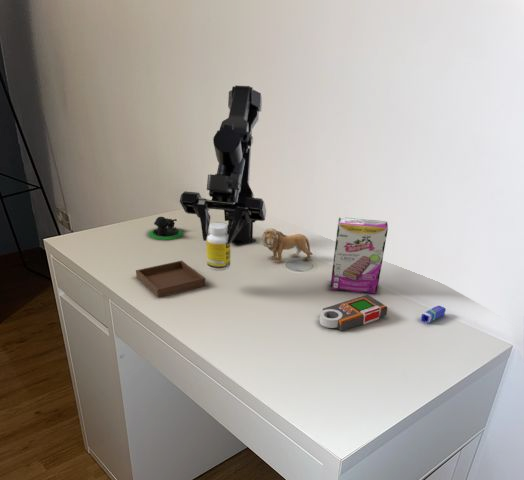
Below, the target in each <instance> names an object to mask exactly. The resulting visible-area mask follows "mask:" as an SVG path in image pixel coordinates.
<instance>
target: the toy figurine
mask: <svg viewBox="0 0 524 480" xmlns="http://www.w3.org/2000/svg"><path fill="white" fill-rule="evenodd" d="M176 222H178V220H177V219H176V218H174V219H172V218H168V217H167V218H166V217H165V216H158V217H156V219H155V221H154V222H153V225H154V226H156V227H157V228H154V229H152V230H150V231H149V232H148V236H149V237H150V238H151V239H154V240H159V241H170V240H176V239H180V238H181V237H182V236H184V232H183V231H182V230H181V229H179V228H177V227H176V226H175V224H176Z"/></svg>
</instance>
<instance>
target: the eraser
mask: <svg viewBox="0 0 524 480" xmlns="http://www.w3.org/2000/svg"><path fill="white" fill-rule="evenodd" d="M445 314H446V307H444V306H442V305H437V306H433V307H432V308H430V309H428V310H426V311H424V312H422V313H421V316H420V321H422V322H424V323H426V324H430V323H432V322H434V321H435V320H437V319H439V318H442V317H444V315H445Z"/></svg>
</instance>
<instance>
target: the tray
mask: <svg viewBox="0 0 524 480" xmlns="http://www.w3.org/2000/svg"><path fill="white" fill-rule="evenodd" d="M135 276H136V279H137V280H138V281H139V282H140V283H141V284H143V285H144V286H145V288H147V289H148V290H149V291H150V292H151V293H152V294H153V295H155V297H157V298H162V297H166V296H169V295H170V296H171V295H174V294H177V293H182V292H185V291H190V290H194V289H198V288H199V289H200V288H202V287H206V278H205V277H204V276H203V275H202V274H201V273H199V272H198V271H196V270H195V269H194V268H192V267H191V266H190V265H188V264H187V263H186V262H184V261H183V260H178V261H172V262H168V263H163V264H159V265H154V266H149V267H145V268H140V269H136V270H135Z"/></svg>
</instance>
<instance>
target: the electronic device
mask: <svg viewBox="0 0 524 480" xmlns="http://www.w3.org/2000/svg"><path fill="white" fill-rule="evenodd" d="M387 313H388V306H387V305H385V304H384V303H383V302H381V301H379V300H377V299H376V298H375V297H373V296H371V295H370V294H365V295H361V296H358V297H354V298H352V299H349V300H346V301H342V302H339V303H337V304H333V305H330V306H326V307H323V308H322V311H320V313H319V324H320V325H321V326H322V327H324V328H327V329H335V328H336V329H337V330H338V331H340V332H343V331H346V330H349V329H351V328H354V327H357V326H360V325H366V324H369V323H373V322H376V321H377V320H380V319H381V318H383V317H386V316H387Z"/></svg>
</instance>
